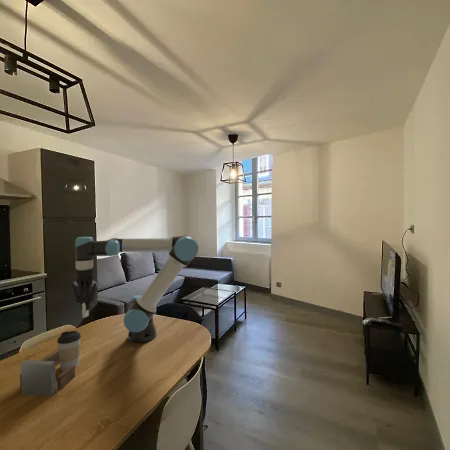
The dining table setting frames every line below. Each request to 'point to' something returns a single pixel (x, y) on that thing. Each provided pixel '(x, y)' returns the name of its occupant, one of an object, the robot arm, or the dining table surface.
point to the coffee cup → (69, 349)
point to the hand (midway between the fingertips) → (85, 316)
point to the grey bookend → (38, 378)
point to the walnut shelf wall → (63, 377)
